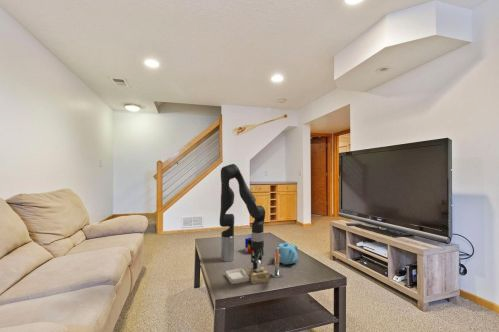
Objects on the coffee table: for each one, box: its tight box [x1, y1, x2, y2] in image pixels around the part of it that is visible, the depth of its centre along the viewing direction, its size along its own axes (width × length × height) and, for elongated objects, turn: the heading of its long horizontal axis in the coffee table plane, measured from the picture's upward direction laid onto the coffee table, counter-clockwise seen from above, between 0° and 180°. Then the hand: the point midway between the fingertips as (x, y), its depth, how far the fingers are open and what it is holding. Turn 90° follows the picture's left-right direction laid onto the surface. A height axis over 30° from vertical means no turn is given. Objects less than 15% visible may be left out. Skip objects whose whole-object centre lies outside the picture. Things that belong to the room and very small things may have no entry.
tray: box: [225, 268, 251, 285], centre depth 139 cm, size 13×11×2 cm
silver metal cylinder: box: [254, 259, 262, 273], centre depth 138 cm, size 4×4×11 cm
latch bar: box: [273, 247, 280, 266], centre depth 137 cm, size 4×16×9 cm, turn 174°
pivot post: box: [269, 264, 284, 279], centre depth 143 cm, size 6×6×11 cm
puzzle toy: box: [244, 237, 254, 254], centre depth 187 cm, size 10×10×10 cm
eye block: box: [246, 265, 270, 285], centre depth 138 cm, size 10×10×5 cm
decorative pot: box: [273, 242, 299, 266], centre depth 165 cm, size 16×16×14 cm
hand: (257, 266), depth 138 cm, fingers open, 8 cm apart
